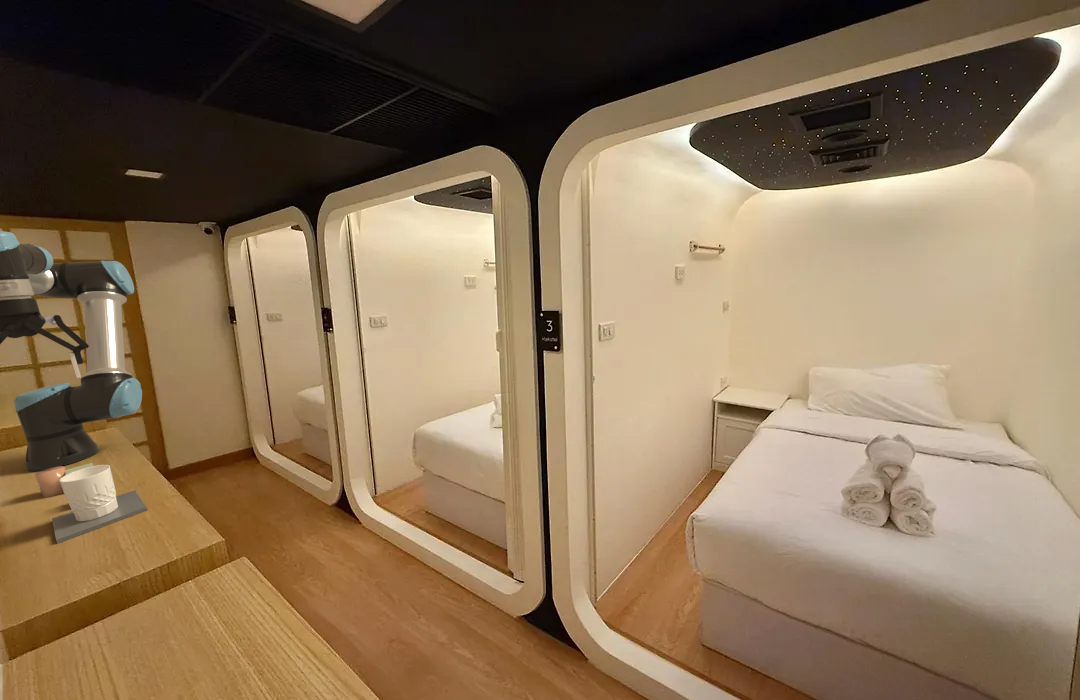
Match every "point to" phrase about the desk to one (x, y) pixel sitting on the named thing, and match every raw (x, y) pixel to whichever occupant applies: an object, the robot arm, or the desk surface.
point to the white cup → (90, 492)
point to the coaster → (71, 527)
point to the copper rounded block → (50, 481)
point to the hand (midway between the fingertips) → (39, 384)
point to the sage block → (78, 468)
